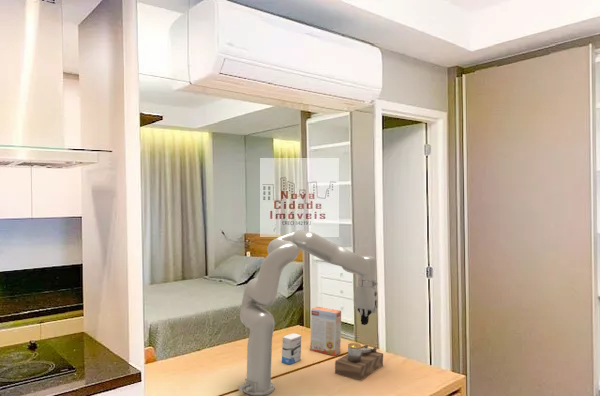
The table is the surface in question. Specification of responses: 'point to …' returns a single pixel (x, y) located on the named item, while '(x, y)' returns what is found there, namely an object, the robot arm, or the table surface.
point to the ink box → (291, 348)
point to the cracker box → (325, 330)
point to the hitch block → (359, 365)
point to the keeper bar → (366, 350)
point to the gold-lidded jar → (354, 352)
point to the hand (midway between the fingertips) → (364, 324)
